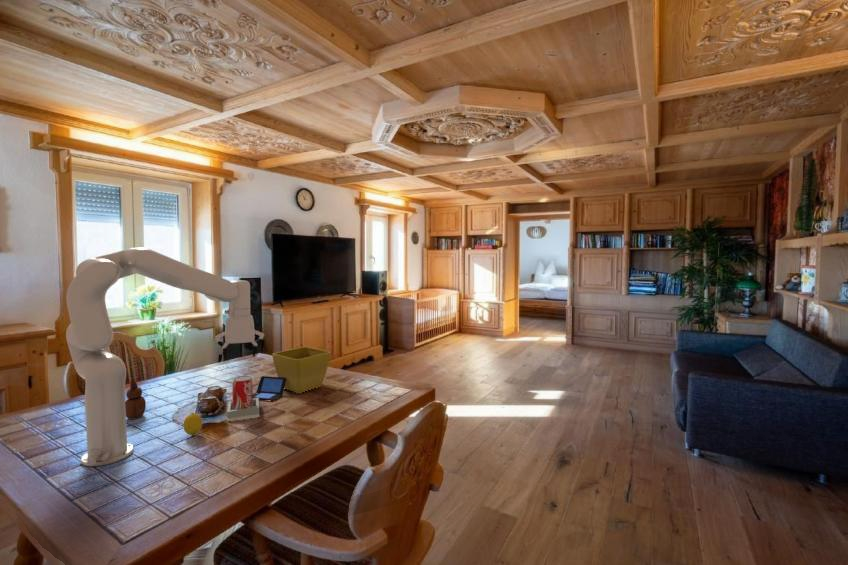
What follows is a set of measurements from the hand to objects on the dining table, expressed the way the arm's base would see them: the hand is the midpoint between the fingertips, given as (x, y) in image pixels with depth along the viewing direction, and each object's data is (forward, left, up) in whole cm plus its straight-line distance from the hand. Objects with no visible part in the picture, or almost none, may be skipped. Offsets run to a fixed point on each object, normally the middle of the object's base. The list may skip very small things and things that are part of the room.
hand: (240, 356), depth 154 cm
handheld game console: (+17, -10, -23) cm, 30 cm away
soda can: (0, 0, -22) cm, 22 cm away
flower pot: (+23, -25, -23) cm, 41 cm away
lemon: (-14, +15, -23) cm, 31 cm away
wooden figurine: (+12, +37, -23) cm, 45 cm away
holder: (0, -1, -22) cm, 22 cm away
